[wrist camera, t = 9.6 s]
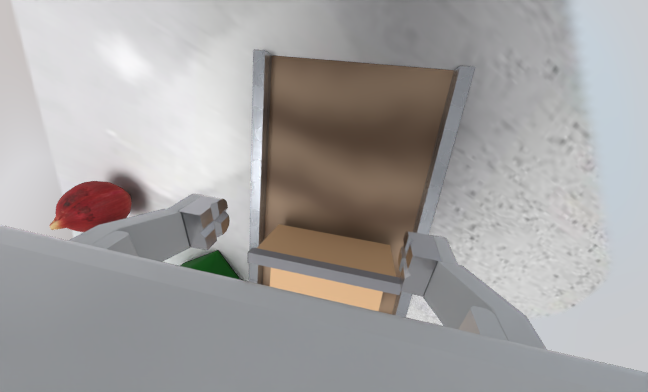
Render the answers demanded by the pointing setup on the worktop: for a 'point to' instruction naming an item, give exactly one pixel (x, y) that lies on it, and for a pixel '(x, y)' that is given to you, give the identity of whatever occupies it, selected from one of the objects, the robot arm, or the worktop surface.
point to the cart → (328, 266)
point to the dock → (350, 150)
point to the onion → (91, 206)
